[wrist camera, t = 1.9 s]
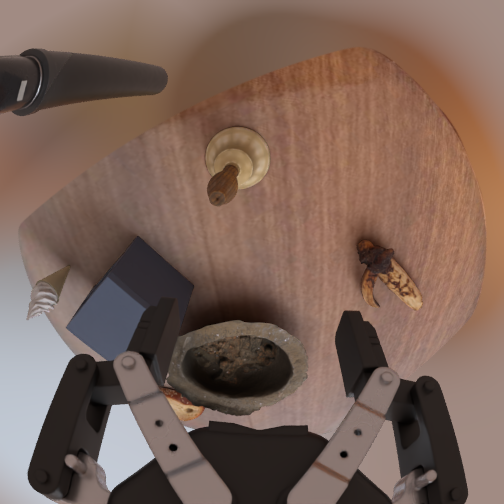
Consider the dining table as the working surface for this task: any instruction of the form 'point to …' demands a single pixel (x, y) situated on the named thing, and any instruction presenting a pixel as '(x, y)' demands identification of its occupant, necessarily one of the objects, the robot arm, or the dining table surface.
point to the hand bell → (235, 162)
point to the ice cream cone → (47, 292)
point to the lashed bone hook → (386, 275)
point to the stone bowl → (237, 366)
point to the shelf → (150, 276)
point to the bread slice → (182, 405)
